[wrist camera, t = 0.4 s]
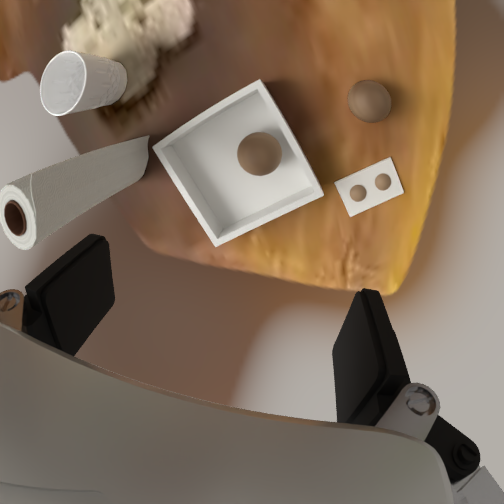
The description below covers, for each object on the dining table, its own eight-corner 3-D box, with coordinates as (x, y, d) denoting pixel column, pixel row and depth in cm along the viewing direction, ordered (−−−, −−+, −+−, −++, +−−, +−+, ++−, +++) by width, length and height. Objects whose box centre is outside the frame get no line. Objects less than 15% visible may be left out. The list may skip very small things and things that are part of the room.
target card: (389, 156, 32) (390, 157, 32) (403, 192, 34) (404, 192, 34) (334, 182, 35) (334, 182, 35) (349, 216, 37) (350, 217, 36)
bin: (263, 82, 31) (259, 79, 27) (321, 186, 36) (324, 195, 32) (165, 142, 35) (152, 147, 32) (222, 234, 40) (215, 247, 37)
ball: (269, 123, 32) (266, 125, 28) (290, 159, 34) (289, 167, 30) (233, 143, 34) (224, 148, 30) (254, 178, 36) (248, 188, 31)
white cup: (94, 55, 30) (47, 51, 21) (138, 58, 30) (93, 50, 22) (82, 106, 34) (35, 112, 25) (124, 113, 34) (78, 119, 25)
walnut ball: (372, 76, 28) (384, 71, 24) (390, 113, 30) (404, 114, 25) (336, 91, 30) (343, 88, 25) (356, 127, 32) (365, 130, 27)
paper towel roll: (116, 185, 39) (9, 253, 20) (108, 146, 36) (-11, 192, 18) (159, 177, 38) (52, 248, 19) (150, 134, 35) (29, 174, 16)
